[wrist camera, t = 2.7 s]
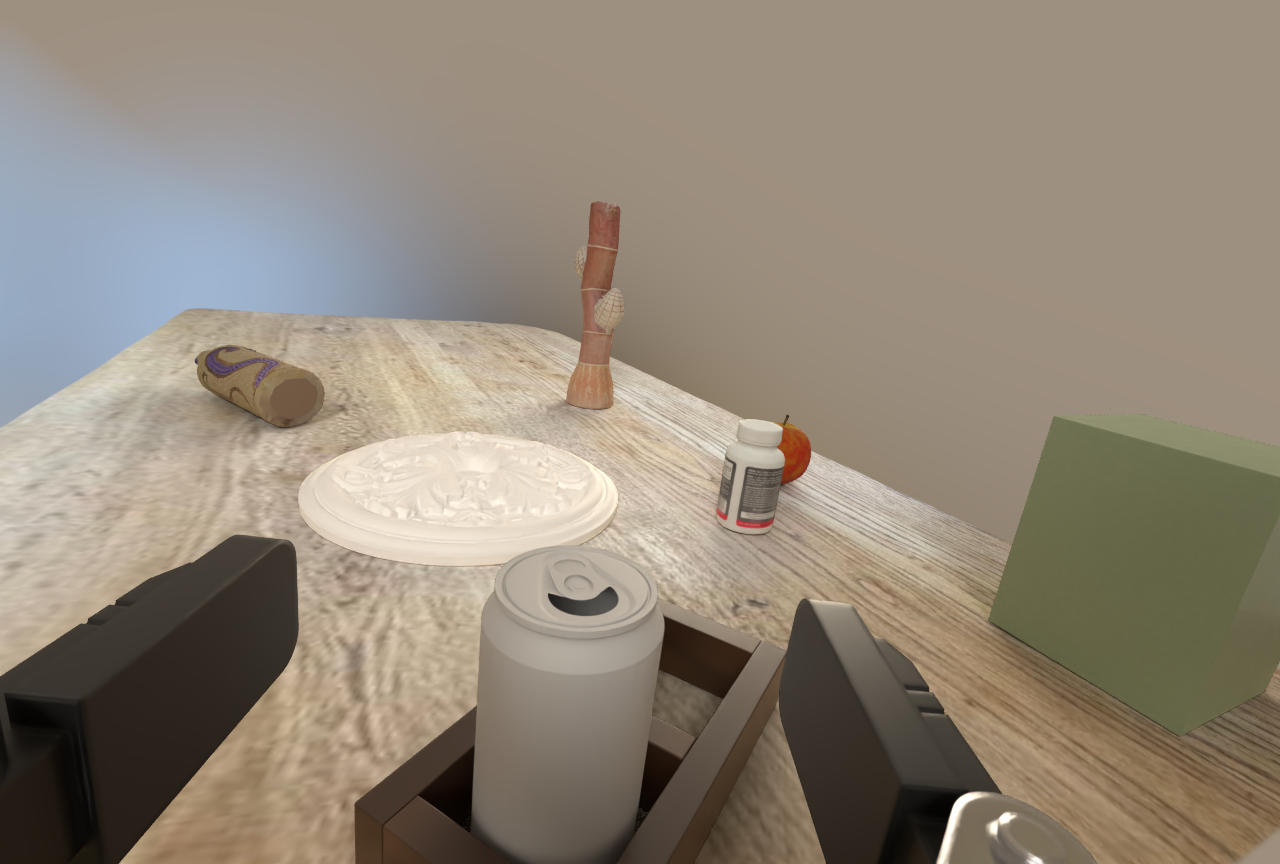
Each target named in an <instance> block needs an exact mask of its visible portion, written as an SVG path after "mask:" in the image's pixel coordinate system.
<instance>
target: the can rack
mask: <svg viewBox="0 0 1280 864" xmlns="http://www.w3.org/2000/svg"><path fill="white" fill-rule="evenodd" d="M657 604H658V606H659V608H660V610H661V612H662V614H663V618H664V636H663V642H662V649H661V656H660V663H659V669H661V670H663V671H665V672H668V673H670V674H672V675H674V676H676V677H678V678H680V679H683V680H685V681H687V682H689V683H691V684H693V685H695V686H697V687H700V688H702V689H704V690H706V691H708V692H710V693H712V694H715V695H717V696H719V697H721V698H723V701H722V702H721V704H720V705H719V707H718V708H717V710H716V711H715V713H714V714H713V716H712V717H711V719H710V720H709V722H708V723H707V725H706V726H705V728H704V729H703V731H702V732H701V734H700V735H699V737H698V739H696V737H694V736H692V735H690V734H688V733H686V732H684V731H682V730H680V729H678V728H676V727H674V726H672V725H670V724H668V723H667V722H665V721H663V720H661V719H659V718H657V717H655V716H653V715H652V717H651V724H650V731H649V738H648V745H647V751H646V758H645V765H644V772H643V779H642V785H641V792H640V799H639V806H640V807H642V808H644V809H645V810H647V811H649V813H648V815H647V816H646V818H645V819H644V821H643V822H642V824H641V825H640V827H639V828H638V830H637V831H636V833H635V834H634V836H633V837H632V839H631V840H630V842H629V843H628V845H627V846H626V848H625V849H624V851H623V853H622V854H621V856H620V857H619V859H618V860H617V862H616V863H615V864H694V862H695V860H696V858H697V856H698V854H699V852H700V850H701V848H702V846H703V844H704V843H705V841H706V839H707V837H708V835H709V833H710V831H711V829H712V827H713V825H714V823H715V821H716V819H717V817H718V816H719V814H720V812H721V810H722V808H723V806H724V804H725V802H726V800H727V798H728V796H729V794H730V792H731V790H732V789H733V787H734V785H735V783H736V781H737V779H738V777H739V775H740V773H741V771H742V769H743V767H744V765H745V763H746V762H747V760H748V758H749V756H750V754H751V752H752V750H753V748H754V746H755V744H756V742H757V740H758V738H759V736H760V735H761V733H762V731H763V729H764V727H765V725H766V723H767V721H768V719H769V717H770V715H771V713H772V711H773V710H774V708H775V706H776V703H777V699H778V694H779V687H780V680H781V675H782V671H783V666H784V662H785V658H786V653H787V651H786V650H783V649H781V648H779V647H776V646H774V645H771V644H769V643H766V642H764V641H761V640H759V639H757V638H754V637H752V636H749V635H747V634H744V633H742V632H739V631H737V630H735V629H732V628H730V627H727V626H725V625H722V624H720V623H718V622H715V621H713V620H710V619H708V618H705V617H703V616H700V615H698V614H696V613H693V612H691V611H688V610H686V609H683V608H681V607H678V606H676V605H674V604H671V603H669V602H666V601H664V600H661V599H659V598H658V601H657ZM476 714H477V706H476V707H475V708H473V709H472V710H471V711H470V712H468V713H467V714H466V715H465V716H463V717H462V718H461V719H460V720H458V721H457V722H456V723H454V724H453V725H452V726H451V727H449V728H448V729H447V730H446V731H444V732H443V733H442V734H441V735H439V736H438V737H437V738H436V739H434V740H433V741H432V742H431V743H429V744H428V745H427V746H426V747H424V748H423V749H422V750H421V751H419V752H418V753H417V754H416V755H414V756H413V757H412V758H411V759H409V760H408V761H407V762H406V763H404V764H403V765H402V766H400V767H399V768H398V769H397V770H395V771H394V772H393V773H392V774H390V775H389V776H388V777H387V778H385V779H384V780H383V781H382V782H380V783H379V784H378V785H377V786H375V787H374V788H373V789H372V790H370V791H369V792H368V793H367V794H365V795H364V796H363V797H362V798H360V799H359V800H358V801H357V802H355V862H356V864H512V863H511V862H509V861H508V860H507V859H505V858H504V857H503V856H501V855H500V854H498V853H497V852H496V851H494V850H493V849H491V848H490V847H489V846H487V845H486V844H485V843H483V842H482V841H480V840H479V839H478V838H476V837H475V836H473V835H472V834H471V833H469V832H468V831H467V830H465V829H464V828H462V827H461V826H460V825H459V824H460V823H461V822H462V821H463V820H464V819H465V818H466V817H467V816H468V815H469V814H470V813H471V812H472V793H473V773H474V753H475V734H476Z"/></svg>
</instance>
